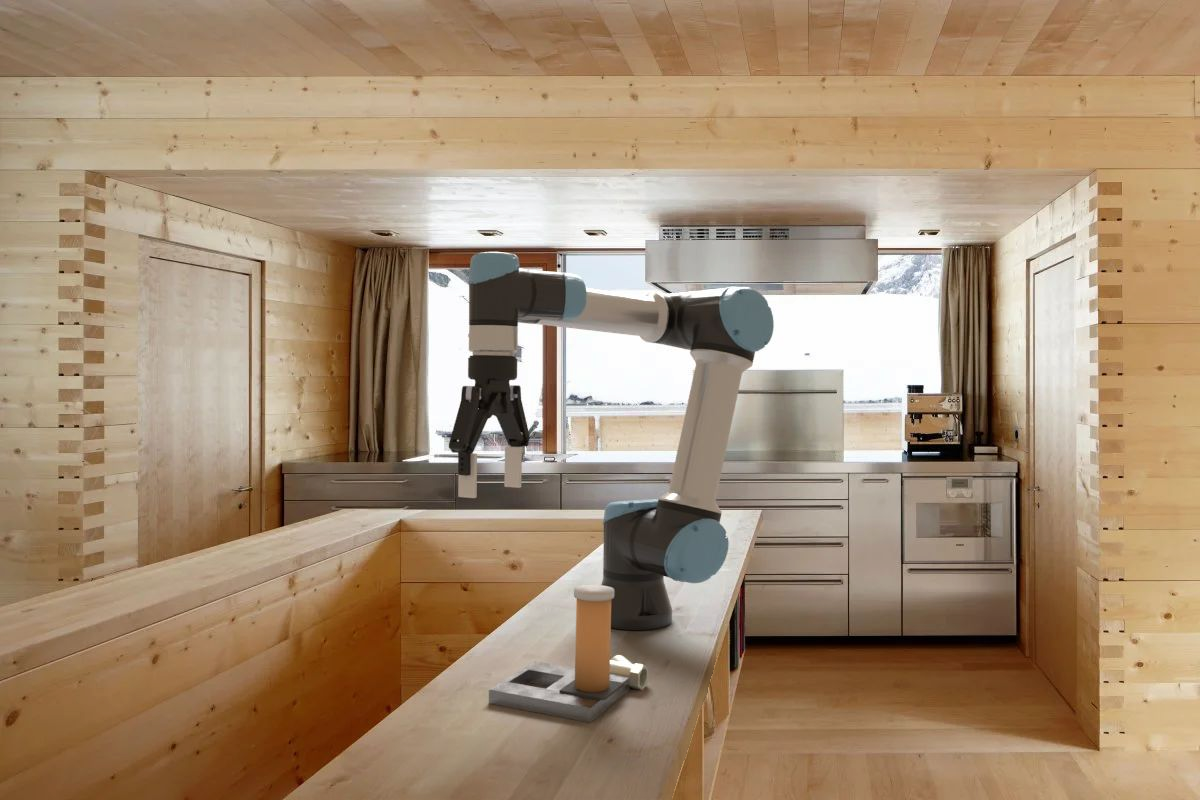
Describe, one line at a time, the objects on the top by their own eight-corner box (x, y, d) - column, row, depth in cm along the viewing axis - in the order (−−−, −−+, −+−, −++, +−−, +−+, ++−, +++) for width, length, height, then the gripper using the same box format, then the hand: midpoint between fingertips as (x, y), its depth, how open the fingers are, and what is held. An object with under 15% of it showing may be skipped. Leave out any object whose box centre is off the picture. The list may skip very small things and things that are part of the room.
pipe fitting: (611, 674, 146) (590, 683, 140) (613, 649, 146) (592, 657, 140) (657, 683, 142) (637, 693, 136) (658, 658, 142) (639, 666, 136)
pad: (580, 677, 136) (580, 675, 136) (623, 684, 133) (623, 682, 133) (559, 692, 130) (559, 690, 130) (604, 700, 127) (604, 698, 127)
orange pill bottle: (581, 677, 135) (583, 583, 135) (618, 683, 133) (620, 587, 133) (565, 689, 130) (567, 591, 130) (602, 695, 128) (605, 595, 127)
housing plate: (534, 674, 143) (535, 661, 143) (629, 690, 137) (629, 677, 137) (488, 703, 130) (488, 689, 130) (590, 722, 124) (590, 708, 124)
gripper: (511, 355, 153) (509, 481, 154) (425, 352, 130) (423, 500, 131) (551, 356, 150) (549, 484, 151) (470, 352, 127) (468, 504, 128)
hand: (491, 492), depth 141 cm, fingers open, 13 cm apart
